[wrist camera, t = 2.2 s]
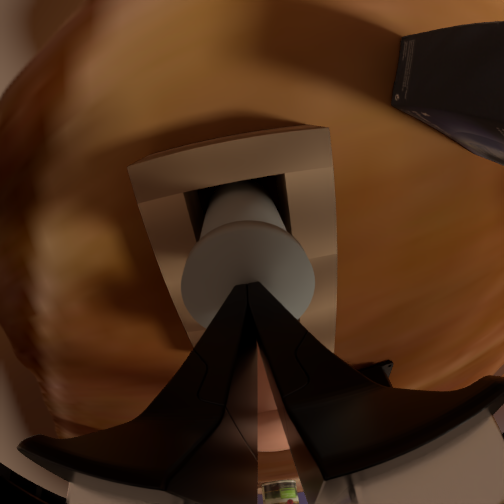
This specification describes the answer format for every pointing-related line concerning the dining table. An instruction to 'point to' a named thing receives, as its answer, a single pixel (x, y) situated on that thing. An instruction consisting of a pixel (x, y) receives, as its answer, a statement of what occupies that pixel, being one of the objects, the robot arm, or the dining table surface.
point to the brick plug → (268, 415)
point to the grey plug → (244, 254)
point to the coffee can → (280, 492)
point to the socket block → (237, 169)
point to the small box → (456, 84)
